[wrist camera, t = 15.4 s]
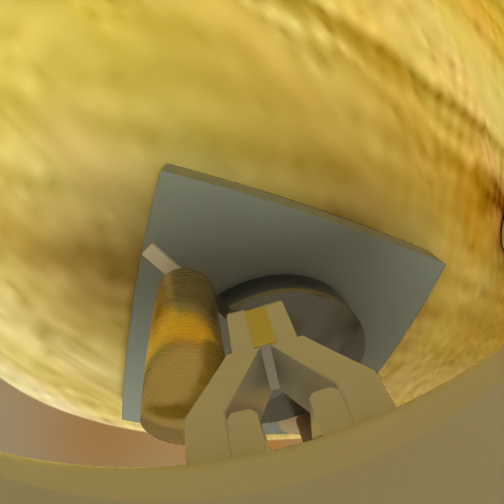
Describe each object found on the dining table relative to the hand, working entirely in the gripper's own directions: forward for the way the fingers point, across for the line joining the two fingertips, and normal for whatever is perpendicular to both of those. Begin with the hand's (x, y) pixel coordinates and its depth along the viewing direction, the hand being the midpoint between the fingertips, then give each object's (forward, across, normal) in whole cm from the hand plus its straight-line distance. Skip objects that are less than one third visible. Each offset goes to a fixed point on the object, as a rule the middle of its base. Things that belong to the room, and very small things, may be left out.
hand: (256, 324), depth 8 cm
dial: (+5, 0, +5) cm, 8 cm away
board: (+8, -1, +8) cm, 11 cm away
